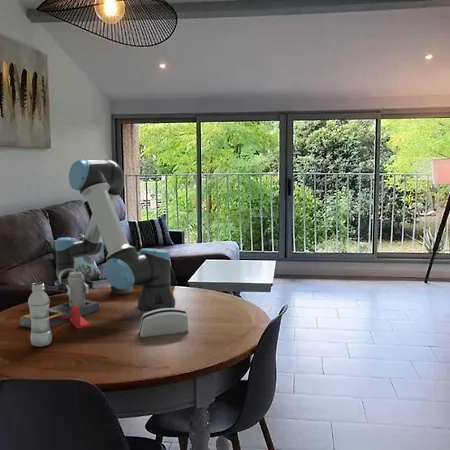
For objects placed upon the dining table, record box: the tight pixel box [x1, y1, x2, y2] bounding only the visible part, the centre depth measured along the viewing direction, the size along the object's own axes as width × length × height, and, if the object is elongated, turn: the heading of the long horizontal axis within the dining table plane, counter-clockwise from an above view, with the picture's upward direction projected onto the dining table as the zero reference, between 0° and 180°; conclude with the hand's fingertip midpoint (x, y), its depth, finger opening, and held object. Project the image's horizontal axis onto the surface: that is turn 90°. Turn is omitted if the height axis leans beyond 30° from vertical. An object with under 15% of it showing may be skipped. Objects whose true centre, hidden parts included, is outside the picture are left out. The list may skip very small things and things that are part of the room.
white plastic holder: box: [138, 307, 190, 338], centre depth 176 cm, size 17×5×10 cm, turn 109°
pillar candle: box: [110, 284, 134, 295], centre depth 231 cm, size 10×10×15 cm
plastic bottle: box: [27, 282, 53, 348], centre depth 164 cm, size 6×7×20 cm
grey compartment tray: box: [19, 299, 100, 329], centre depth 194 cm, size 11×28×3 cm, turn 150°
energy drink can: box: [68, 271, 86, 308], centre depth 200 cm, size 6×6×15 cm
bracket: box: [69, 305, 91, 329], centre depth 188 cm, size 12×4×8 cm, turn 31°
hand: (78, 291), depth 196 cm, fingers closed on energy drink can, 6 cm apart
